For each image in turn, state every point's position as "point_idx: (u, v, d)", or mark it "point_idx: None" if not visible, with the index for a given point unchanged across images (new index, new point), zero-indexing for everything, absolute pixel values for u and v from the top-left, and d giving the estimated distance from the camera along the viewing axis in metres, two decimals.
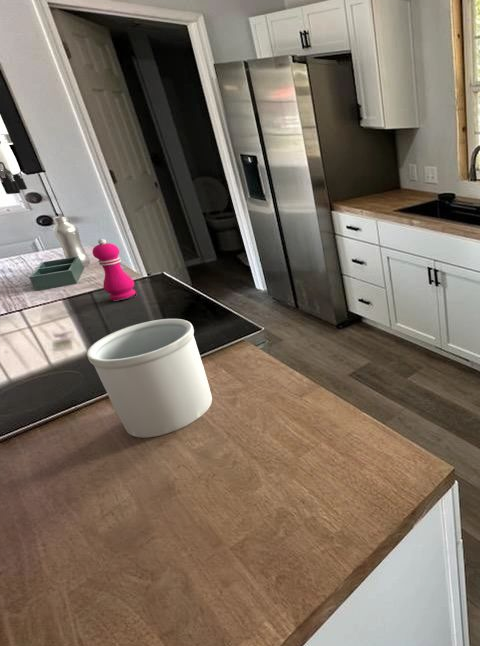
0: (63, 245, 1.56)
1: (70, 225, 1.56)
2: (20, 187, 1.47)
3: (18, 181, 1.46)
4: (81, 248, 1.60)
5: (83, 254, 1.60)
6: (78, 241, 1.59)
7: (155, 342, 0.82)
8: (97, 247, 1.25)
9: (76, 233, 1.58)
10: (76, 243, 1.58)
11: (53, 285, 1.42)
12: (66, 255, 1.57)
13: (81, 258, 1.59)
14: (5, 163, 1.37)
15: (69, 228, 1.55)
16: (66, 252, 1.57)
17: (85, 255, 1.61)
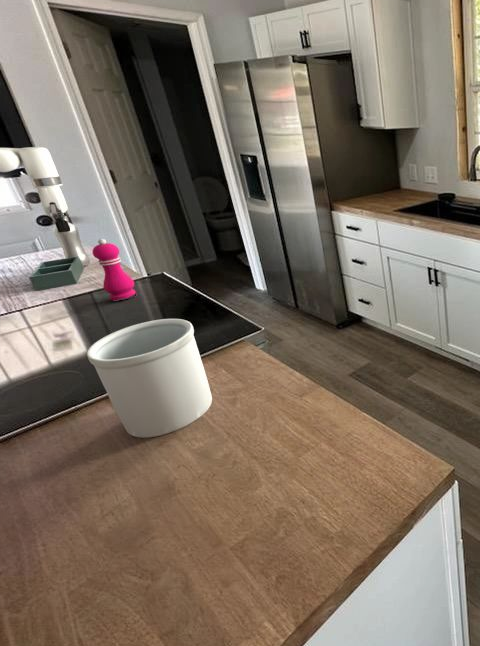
0: (63, 245, 1.56)
1: (70, 224, 1.56)
2: None
3: None
4: (81, 248, 1.60)
5: (83, 254, 1.60)
6: (78, 241, 1.59)
7: (155, 342, 0.82)
8: (97, 247, 1.25)
9: (76, 233, 1.58)
10: (76, 243, 1.58)
11: (53, 285, 1.42)
12: (66, 255, 1.57)
13: (81, 258, 1.59)
14: (57, 203, 1.50)
15: None
16: (66, 252, 1.57)
17: (85, 255, 1.61)
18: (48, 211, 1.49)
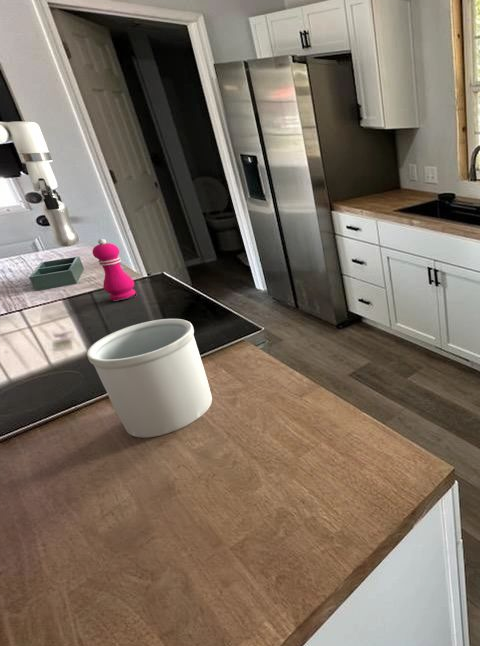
0: (51, 223, 1.52)
1: (59, 202, 1.53)
2: None
3: None
4: (70, 227, 1.56)
5: (72, 233, 1.57)
6: (67, 219, 1.55)
7: (155, 342, 0.82)
8: (97, 247, 1.25)
9: (65, 211, 1.54)
10: (65, 222, 1.55)
11: (53, 285, 1.42)
12: (54, 233, 1.54)
13: (70, 237, 1.56)
14: (46, 179, 1.47)
15: None
16: (55, 230, 1.53)
17: (74, 234, 1.57)
18: (37, 187, 1.46)
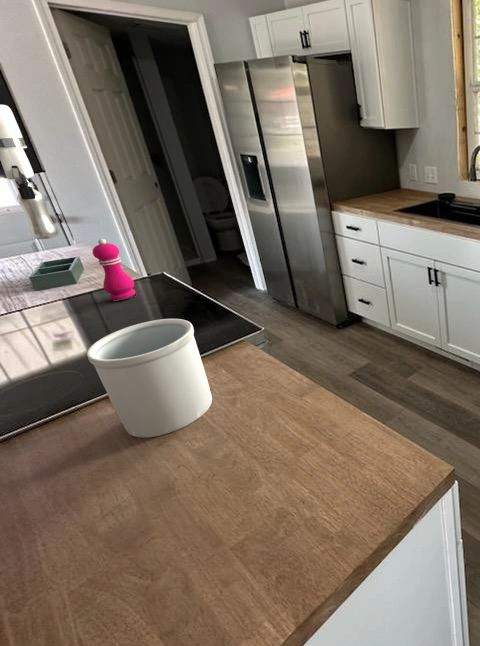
0: (28, 214, 1.43)
1: (36, 192, 1.43)
2: None
3: None
4: (48, 218, 1.46)
5: (51, 225, 1.47)
6: (45, 210, 1.45)
7: (155, 342, 0.82)
8: (97, 247, 1.25)
9: (43, 201, 1.44)
10: (43, 212, 1.45)
11: (53, 285, 1.42)
12: (31, 225, 1.44)
13: (48, 229, 1.46)
14: (19, 167, 1.37)
15: None
16: (31, 221, 1.43)
17: (53, 226, 1.48)
18: (10, 175, 1.36)
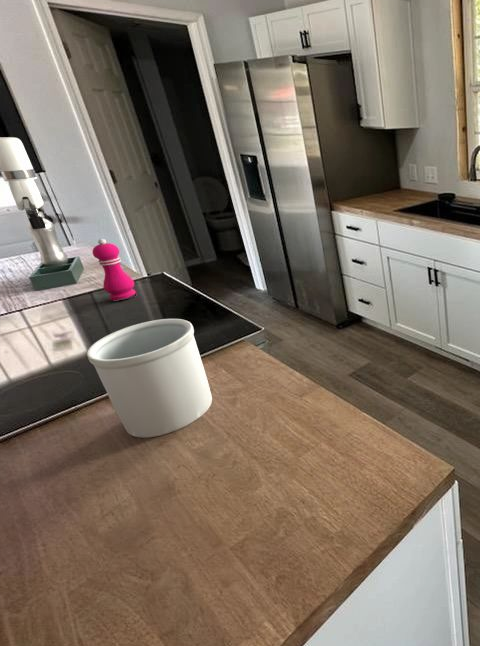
0: (38, 243, 1.45)
1: (46, 221, 1.46)
2: None
3: None
4: (58, 246, 1.49)
5: (60, 252, 1.50)
6: (55, 238, 1.48)
7: (155, 342, 0.82)
8: (97, 247, 1.25)
9: (52, 230, 1.47)
10: (53, 241, 1.48)
11: (53, 285, 1.42)
12: (42, 253, 1.47)
13: (58, 257, 1.49)
14: (30, 198, 1.39)
15: (45, 224, 1.45)
16: (42, 250, 1.46)
17: (63, 253, 1.50)
18: (21, 206, 1.38)
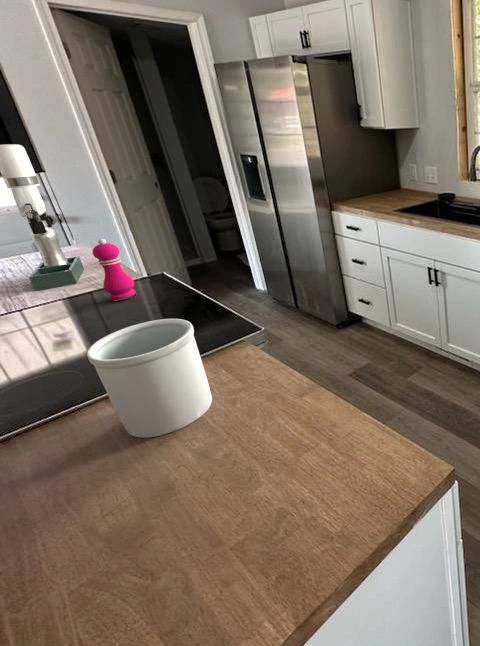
0: (41, 251, 1.46)
1: (49, 230, 1.47)
2: None
3: (44, 219, 1.49)
4: (61, 254, 1.50)
5: (63, 261, 1.51)
6: (58, 247, 1.49)
7: (155, 342, 0.82)
8: (97, 247, 1.25)
9: (55, 238, 1.48)
10: (56, 249, 1.49)
11: (53, 285, 1.42)
12: (45, 262, 1.48)
13: None
14: (33, 204, 1.40)
15: (48, 233, 1.46)
16: (45, 258, 1.47)
17: (66, 262, 1.51)
18: (23, 213, 1.39)
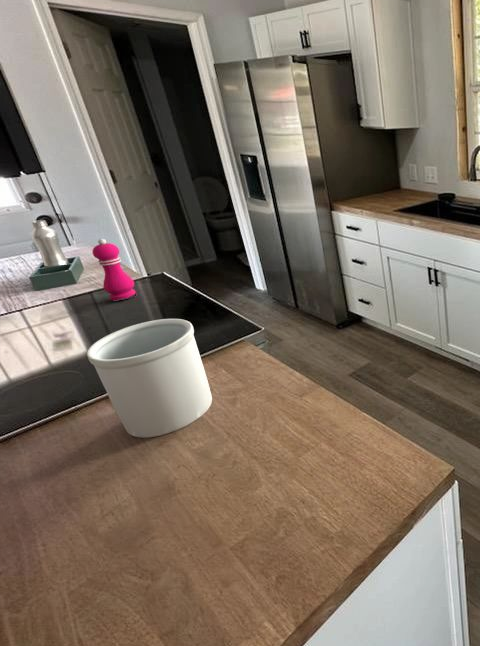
0: (41, 251, 1.46)
1: (49, 230, 1.47)
2: None
3: None
4: (61, 254, 1.50)
5: (63, 261, 1.51)
6: (58, 247, 1.49)
7: (155, 342, 0.82)
8: (97, 247, 1.25)
9: (56, 238, 1.48)
10: (56, 249, 1.49)
11: (53, 285, 1.42)
12: (45, 262, 1.48)
13: None
14: None
15: (48, 233, 1.46)
16: (45, 258, 1.47)
17: (66, 262, 1.51)
18: None
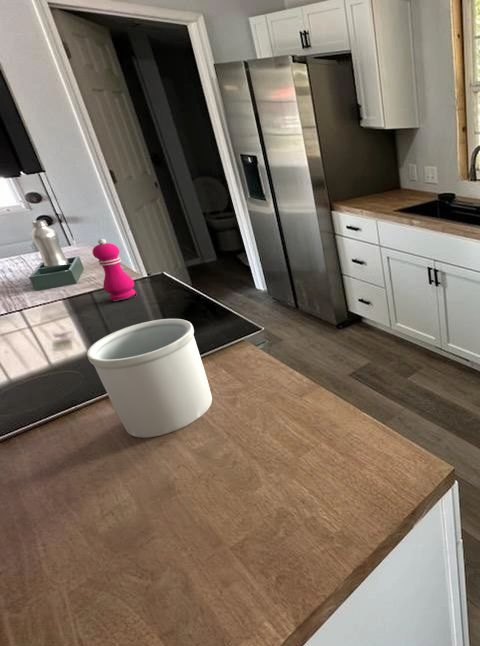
0: (42, 251, 1.46)
1: (49, 230, 1.47)
2: None
3: None
4: (61, 254, 1.50)
5: (63, 261, 1.51)
6: (58, 247, 1.49)
7: (155, 342, 0.82)
8: (97, 247, 1.25)
9: (56, 238, 1.48)
10: (56, 249, 1.49)
11: (53, 285, 1.42)
12: (45, 262, 1.48)
13: None
14: None
15: (48, 233, 1.46)
16: (45, 258, 1.47)
17: (66, 262, 1.51)
18: None
